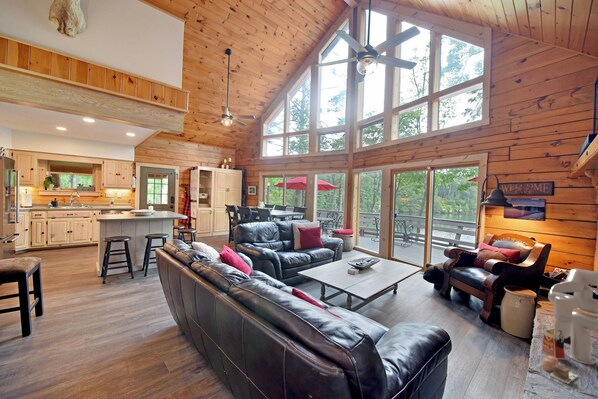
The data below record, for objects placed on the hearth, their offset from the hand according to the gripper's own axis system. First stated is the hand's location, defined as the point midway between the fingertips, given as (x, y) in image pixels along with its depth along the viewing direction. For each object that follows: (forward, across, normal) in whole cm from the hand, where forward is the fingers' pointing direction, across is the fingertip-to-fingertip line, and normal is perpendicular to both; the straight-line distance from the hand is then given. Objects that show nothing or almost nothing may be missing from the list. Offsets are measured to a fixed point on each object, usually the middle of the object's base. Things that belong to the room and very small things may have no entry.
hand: (563, 345), depth 152 cm
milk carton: (+20, -24, -13) cm, 34 cm away
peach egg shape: (+20, -7, -7) cm, 22 cm away
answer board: (+19, -1, 0) cm, 19 cm away
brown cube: (+18, +3, 0) cm, 18 cm away
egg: (+19, 0, -7) cm, 21 cm away
